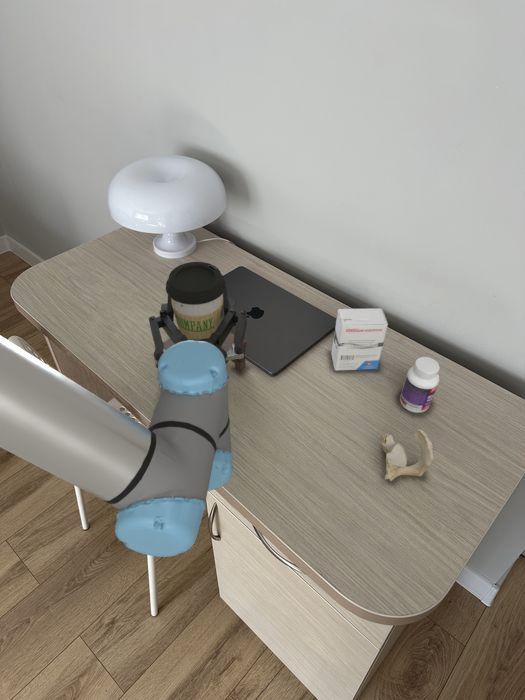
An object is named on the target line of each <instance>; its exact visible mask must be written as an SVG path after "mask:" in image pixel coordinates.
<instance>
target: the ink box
mask: <svg viewBox="0 0 525 700" xmlns="http://www.w3.org/2000/svg"><path fill="white" fill-rule="evenodd" d="M388 327H389V323H388V320H387V317H386V315H385V312H384V310H383V308H338V309H337V314H336V320H335V326H334V335H333V340H332V346H331V359H332V365H333V369H334V371H362V370H378V368H379V364H380V360H381V356H382V351H383V347H384V344H385V340H386V335H387V330H388Z"/></svg>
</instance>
